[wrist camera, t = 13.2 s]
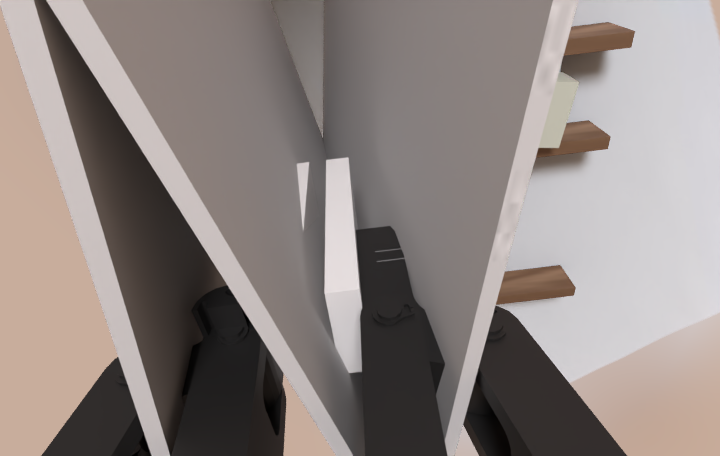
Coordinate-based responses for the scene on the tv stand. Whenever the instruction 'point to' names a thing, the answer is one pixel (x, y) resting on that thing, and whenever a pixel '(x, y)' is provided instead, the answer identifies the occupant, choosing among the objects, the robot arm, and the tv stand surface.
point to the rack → (573, 141)
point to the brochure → (288, 172)
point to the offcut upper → (558, 111)
